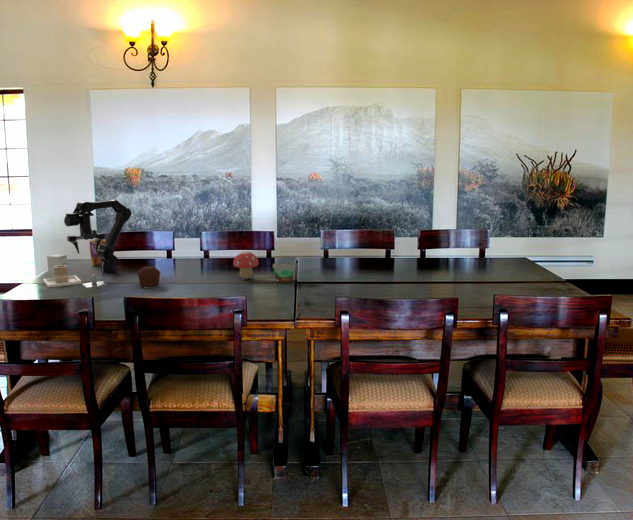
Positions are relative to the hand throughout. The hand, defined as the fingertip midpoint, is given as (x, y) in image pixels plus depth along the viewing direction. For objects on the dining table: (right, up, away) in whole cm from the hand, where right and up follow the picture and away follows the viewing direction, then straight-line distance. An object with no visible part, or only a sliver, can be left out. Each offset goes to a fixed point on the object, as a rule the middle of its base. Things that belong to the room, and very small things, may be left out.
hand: (87, 252), depth 317 cm
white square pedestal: (+12, -17, -20) cm, 29 cm away
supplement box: (-15, -14, -2) cm, 20 cm away
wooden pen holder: (-7, -16, -16) cm, 23 cm away
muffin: (+41, -18, -23) cm, 50 cm away
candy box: (-6, -7, +33) cm, 34 cm away
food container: (+110, -16, -16) cm, 113 cm away
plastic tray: (-7, -16, -16) cm, 24 cm away
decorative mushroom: (+89, -15, -9) cm, 90 cm away
